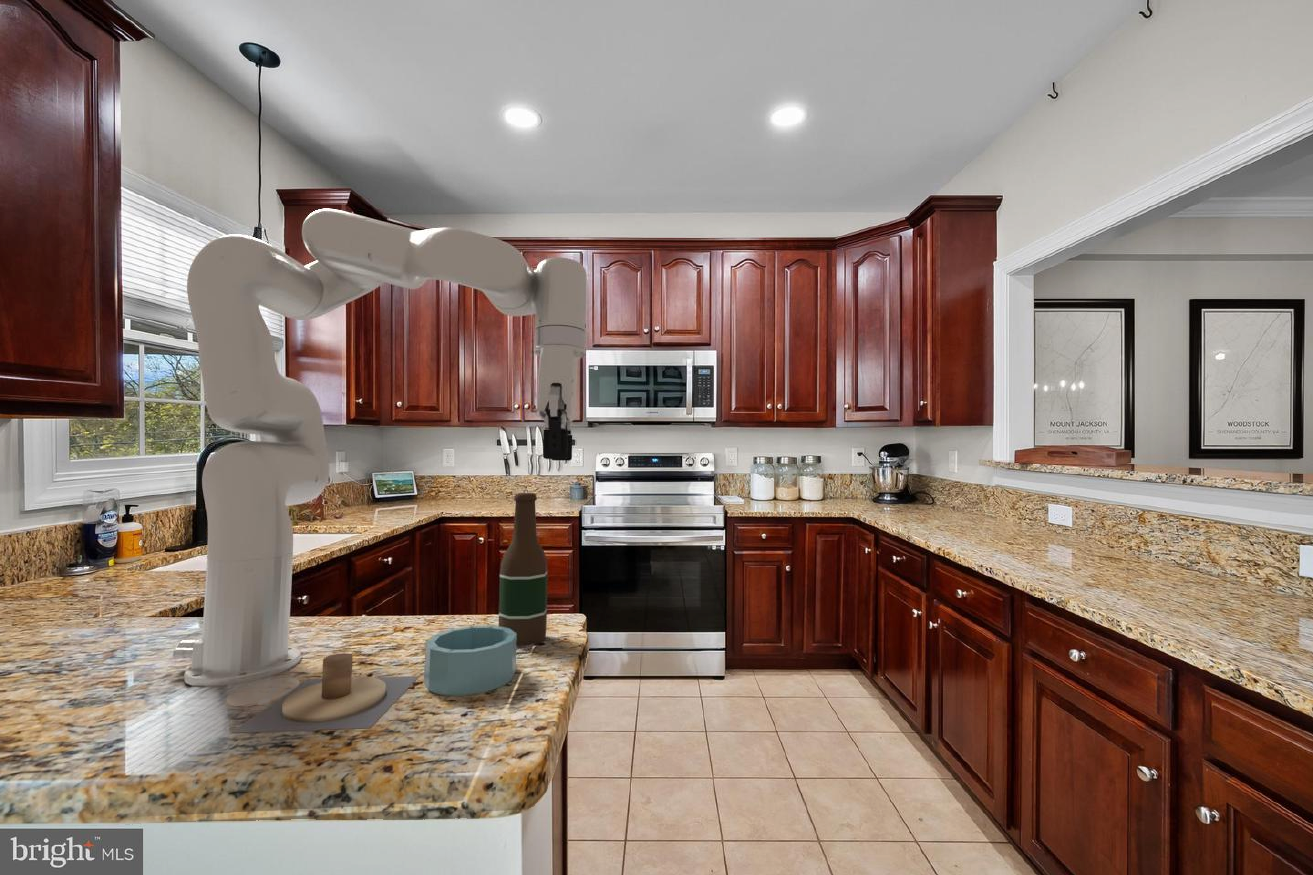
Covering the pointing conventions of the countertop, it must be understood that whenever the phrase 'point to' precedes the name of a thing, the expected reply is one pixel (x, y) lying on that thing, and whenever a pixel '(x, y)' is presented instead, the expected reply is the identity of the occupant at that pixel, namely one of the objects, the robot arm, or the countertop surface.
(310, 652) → the countertop surface
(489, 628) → the bowl
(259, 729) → the mat
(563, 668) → the countertop surface
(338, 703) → the lid
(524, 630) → the beer bottle
